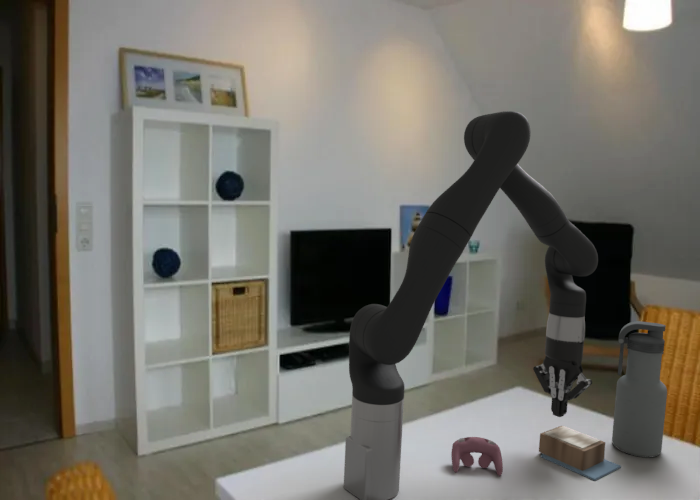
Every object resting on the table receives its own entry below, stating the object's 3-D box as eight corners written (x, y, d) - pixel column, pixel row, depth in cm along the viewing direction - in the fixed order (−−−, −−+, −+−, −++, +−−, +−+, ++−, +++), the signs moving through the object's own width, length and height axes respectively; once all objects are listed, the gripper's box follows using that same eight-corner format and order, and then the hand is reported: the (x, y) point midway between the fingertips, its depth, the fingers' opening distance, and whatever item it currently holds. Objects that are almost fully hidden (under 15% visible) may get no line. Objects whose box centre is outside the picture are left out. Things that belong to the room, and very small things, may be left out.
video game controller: (500, 476, 113) (499, 439, 116) (504, 476, 109) (503, 437, 111) (449, 472, 114) (450, 435, 117) (452, 472, 110) (452, 434, 112)
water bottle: (608, 450, 124) (619, 324, 121) (610, 435, 132) (621, 316, 130) (661, 462, 119) (674, 331, 116) (660, 445, 127) (672, 322, 125)
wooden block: (538, 451, 121) (582, 470, 113) (540, 432, 120) (584, 450, 112) (560, 443, 125) (603, 460, 118) (561, 424, 125) (605, 440, 117)
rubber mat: (594, 480, 110) (594, 478, 110) (540, 456, 119) (540, 454, 119) (620, 467, 116) (621, 465, 116) (567, 445, 125) (567, 444, 125)
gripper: (527, 330, 123) (521, 409, 124) (584, 345, 112) (577, 430, 114) (547, 327, 127) (541, 402, 129) (604, 340, 117) (597, 422, 118)
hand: (558, 415), depth 121 cm, fingers closed
